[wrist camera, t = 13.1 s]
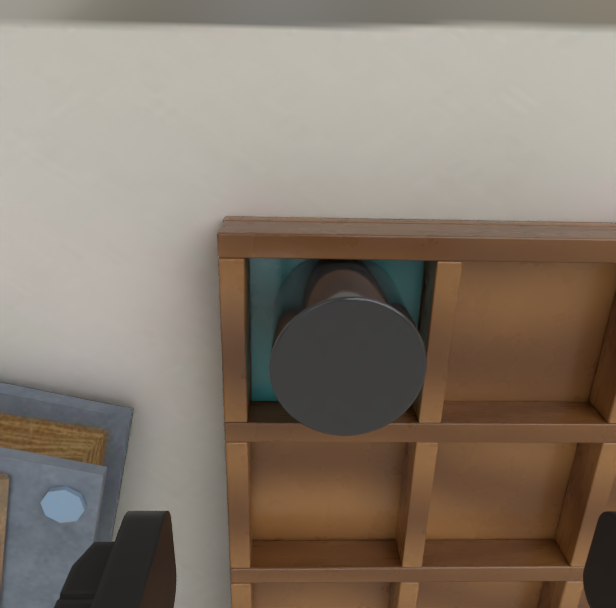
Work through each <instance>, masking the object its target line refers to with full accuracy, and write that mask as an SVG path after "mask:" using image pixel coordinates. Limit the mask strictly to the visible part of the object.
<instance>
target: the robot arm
mask: <svg viewBox="0 0 616 608" xmlns="http://www.w3.org/2000/svg"><path fill="white" fill-rule="evenodd" d="M583 585H584V591H585V595H586V599H587V602H588V604H589V606H590V608H616V511H605V512H603V513H602V514H601V515H600V516H599V518H598V521H597V525H596V528H595V532H594V535H593V539H592V542H591V546H590V549H589V553H588V556H587V560H586V563H585V567H584V571H583ZM175 593H176V564H175V554H174V543H173V533H172V523H171V515H170V512H169V511H128V512H127V513H126V514H125V516H124V518H123V521H122V523H121V526H120V529H119V531H118V534H117V537H116V540H115V542H94V543H93V544H92V545H91V546H90V547H89V548H88V549H87V550H86V551H85V552H84V554H83V555H82V556H81V557H80V558H79V559H78V560H77V561H76V562H75V563H74V564H73V565H72V567H71V569H70V572H69V574H68V576H67V579H66V581H65V583H64V586H63V588H62V590H61V592H60V598H59V600H57V602H56V604H55V606H54V608H173V607H174V601H175Z"/></svg>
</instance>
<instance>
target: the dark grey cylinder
mask: <svg viewBox="0 0 616 608" xmlns="http://www.w3.org/2000/svg"><path fill="white" fill-rule="evenodd" d="M426 369H427V357H426V350H425V346H424V343H423V340H422V338H421V335H420V333H419V331H418V329H417V327H416V325H415V323H414V321H413V319H412V317H411V315H410V313H409V311H408V308H407V306H406V304H405V302H404V300H403V298H402V296H401V294H400V292H399V290H398V288H397V286H396V284H395V282H394V281H393V279H392V278H391V276H390V275H389V274H388V273H387V272H386V271H385V270H384V269H383V268H382V267H381V266H379V265H378V264H377V263H375V262H373V261H371V260H343V259H309V260H307V261H306V262H304V263H302V264H301V265H299V266H298V267H297V268H295V269H294V270H293V271H292V272H291V273H290V274H289V275H288V276H287V277H286V279H285V280H284V281H283V283H282V285H281V286H280V288H279V290H278V293H277V295H276V298H275V302H274V308H273V321H272V335H271V349H270V363H269V373H270V380H271V385H272V388H273V391H274V393H275V395H276V397H277V399H278V401H279V402H280V404H281V405H282V407H283V408H284V409H285V410H286V411H287V412H288V413H289V414H290V415H291V416H292V417H293V418H294V419H296V420H297V421H298V422H300V423H301V424H303V425H305V426H306V427H308V428H311V429H313V430H315V431H318V432H322V433H325V434H331V435H339V436H352V435H360V434H365V433H369V432H372V431H375V430H378V429H380V428H382V427H384V426H386V425H388V424H390V423H392V422H393V421H395V420H396V419H398V418H399V417H400V416H401V415H402V414H403V413H405V412H406V411H407V409H408V408H409V407H410V406H411V405H412V404H413V402H414V401H415V399H416V398H417V396H418V394H419V392H420V390H421V388H422V385H423V383H424V380H425V375H426Z"/></svg>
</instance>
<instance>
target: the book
mask: <svg viewBox="0 0 616 608" xmlns="http://www.w3.org/2000/svg"><path fill="white" fill-rule="evenodd" d="M133 411H134V409H131V408H126V407H121V406H116V405H111V404H106V403H101V402H96V401H91V400H86V399H81V398H76V397H71V396H66V395H61V394H56V393H51V392H46V391H41V390H36V389H31V388H26V387H21V386H16V385H11V384H6V383H1V382H0V608H54V606H55V604H56V602H57V600H59V598H60V592H61V590H62V588H63V586H64V583H65V581H66V579H67V576H68V574H69V572H70V569H71V567H72V565H73V564H74V563H75V562H76V561H77V560H78V559H79V558H80V557H81V556H82V555H83V554H84V552H85V551H86V550H87V549H88V548H89V547H90V546H91V545H92V544H93V543H94V542H111V540H112V534H113V528H114V522H115V517H116V511H117V505H118V499H119V493H120V487H121V481H122V475H123V469H124V464H125V458H126V452H127V446H128V440H129V434H130V428H131V422H132V416H133Z"/></svg>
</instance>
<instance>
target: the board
mask: <svg viewBox="0 0 616 608" xmlns="http://www.w3.org/2000/svg"><path fill="white" fill-rule="evenodd" d="M217 239H218V256H219V259H218V266H219V292H220V318H221V345H222V371H223V397H224V420H225V423H224V425H225V441H226V442H225V448H226V474H227V501H228V527H229V553H230V579H231V608H590V606H589V604H588V602H587V599H586V595H585V591H584V585H583V571H584V567H585V563H586V560H587V556H588V553H589V549H590V546H591V542H592V539H593V535H594V532H595V528H596V525H597V521H598V518H599V516H600V515H601V514H602V513H603V512H605V511H616V223H596V222H535V221H475V220H414V219H354V218H293V217H233V216H226V217H225V218H224V220H223V222H222V225H221V227H220V229H219V232H218V234H217ZM309 259H343V260H371V261H373V262H375V263H377V264H378V265H379V266H381V267H382V268H383V269H384V270H385V271H386V272H387V273H388V274H389V275H390V276H391V278H392V279H393V281H394V282H395V284H396V286H397V288H398V290H399V292H400V294H401V296H402V298H403V300H404V302H405V304H406V306H407V308H408V311H409V313H410V315H411V317H412V319H413V321H414V323H415V325H416V327H417V329H418V331H419V333H420V335H421V338H422V340H423V343H424V346H425V350H426V357H427V369H426V375H425V380H424V383H423V385H422V388H421V390H420V392H419V394H418V396H417V398H416V399H415V401H414V402H413V404H412V405H411V406H410V407H409V408H408V409H407V411H406V412H405V413H403V414H402V415H401V416H400V417H399V418H398V419H396V420H395V421H393V422H392V423H390V424H388V425H386V426H384V427H382V428H380V429H378V430H375V431H372V432H369V433H365V434H360V435H352V436H339V435H331V434H325V433H322V432H318V431H315V430H313V429H311V428H308V427H306V426H305V425H303V424H301V423H300V422H298V421H297V420H296V419H294V418H293V417H292V416H291V415H290V414H289V413H288V412H287V411H286V410H285V409H284V408H283V407H282V405H281V404H280V402H279V401H278V399H277V397H276V395H275V393H274V391H273V388H272V385H271V380H270V373H269V363H270V349H271V335H272V321H273V308H274V302H275V298H276V295H277V293H278V290H279V288H280V286H281V285H282V283H283V281H284V280H285V279H286V277H287V276H288V275H289V274H290V273H291V272H292V271H293V270H294V269H295V268H297V267H298V266H299V265H301V264H302V263H304V262H306V261H307V260H309Z"/></svg>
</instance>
